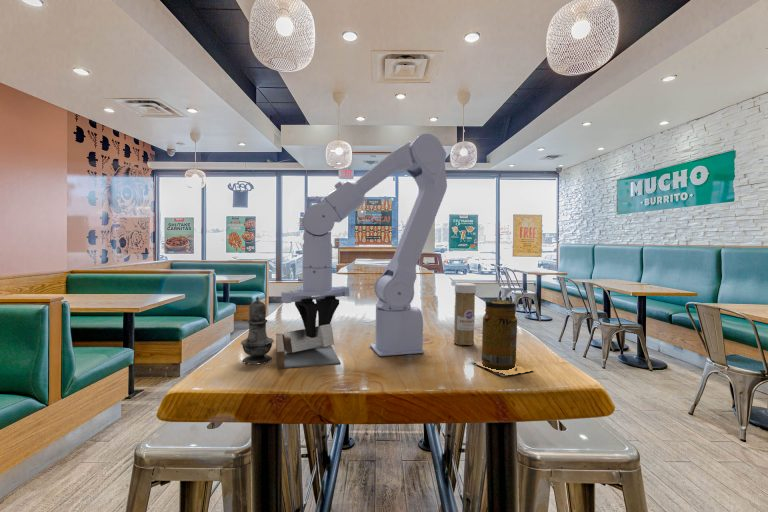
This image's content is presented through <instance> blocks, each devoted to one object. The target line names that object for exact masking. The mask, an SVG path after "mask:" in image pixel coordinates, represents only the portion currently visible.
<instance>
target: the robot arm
mask: <svg viewBox="0 0 768 512" xmlns="http://www.w3.org/2000/svg"><path fill="white" fill-rule="evenodd" d="M446 157H447V152H446V150H445V148H444V147H443V144H442V143H441V141H440V139H439V138H438V137H437V136H436V135H434V134H431V133H422V134H421V135H418V136H417V137H416V138H415V139H414V140H413V141H409V142H407V143H405V144H404V145H401V146H400V147H398V148H397V149H394V150H393V151H391V152H390V153H389V154H388V155H386V156H385V157H384V158H383V159H381V161H379V162H378V163H377V164H376V165H375V166H373V167H372V168H371V169H369V170H368V171H367V172H366V173H365V174H363V175H362V176H361V177H359V178H358V179H356V180H355V181H353V180H345V181H343V182H341V181H338V182H337V183H336V184H334V188H333V190H332V191H330V192H328V193H327V194H326V195H324V197H322V198H321V197H318V198H317V199H316V200H315V203H314V204H311V205H310V206H309V208H307V209H306V211H305V212H304V214H303V216H302V220H301V225H302V228H303V230H304V231H303V232H304V233H303V235H302V240H303V243H302V288H299V289H295V290H289V291H281V293H280V294H281V295H280V299H281V303H284V304H292V303H294V306H295V307H296V309H297V311H298V313H299V314H300V318H301V320H302V323H303V327H304V329H305V331H306V336H308V337H310V338H314V337H315V332H316V327H317V326H322V325H327V324H332V323H331V322H332V319H333V317H334V314H335V313H336V310H337V309H338V307H339V305H340V299H339V298H340V297H346V298H347V297H350V287H349V286H345V285H343V286H333V244H332V231H333V229H334V226H335V223H341V222H342V221H344V219H346V218H347V217H348V216H350V215H351V214H352V213H353V212H355V211H357V209H359V208H360V207H361V206H362V205H364V203H365V196H366V194H367V193H368V192H369V191H370V190H372V189H373V188H375V187H376V186H378V185H379V184H380V183H382V182H383V181H384V180H386V179H387V178H388V177H390V176H391V175H393V174H397V173H399V174H400V173H404V172H407V173H408V174H409V175H410V176H411V177H412V178H413V179H414V181H415V183H416V185H417V187H418V189H419V191H418V194H417V197H416V199H415V201H414V204H413V206H412V209H411V212H410V214H409V217H408V220H407V222H406V224H405V227H404V229H403V231H402V235H401V236H400V240H399V242H398V244H397V246H396V248H395V249H396V250H395V252H394V253H393V254H394V255H393V257H392V259H391V260H390V261H389V262H388V263H387V265H386V267H385V269H384V271H383V273H382V274H380V276H379V277H378V278H377V279H376V280H375V282H374V288H373V289H374V293H375V295H376V297H377V298H378V301H377V303H376V304H375V341H374V342H371V343H369V346H370V347H371V349H372V350H373V351H374V352H375V353H376V354H377V355H378V356H380V357H386V356H398V355H399V356H401V355H411V354H412V355H413V354H423V353H424V352H425V351H424V349H423V347H424V346H423V344H424V343H423V341H424V340H423V339H424V319H423V318H424V317H423V313H422V311H421V309H420V308H419V307H418V306H411V305H412V304H411V303H412V302H413V300H414V297H415V282H416V280H417V264H418V262H419V261H420V257H421V255H422V252H423V249H424V248H425V244H426V241H427V240H428V237H429V235H430V232H431V229H432V227H433V224H434V222H435V219H436V217H437V214H438V212H439V209H440V206H441V204H442V202H443V200H444V196H445V194H446V192H447V188H448V183H447V182H448V181H447V172H446V164H445V163H446V159H447V158H446ZM317 317H318V322H317ZM316 322H317V323H318V325H317V323H316ZM316 325H317V326H316Z"/></svg>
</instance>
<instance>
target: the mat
mask: <svg viewBox="0 0 768 512" xmlns="http://www.w3.org/2000/svg"><path fill="white" fill-rule="evenodd" d="M329 365H341V360H340V359H339V357H338V355H337V353H336V352H335V350H334V348H333V345H330V346H326V347H319V348H312V349H306V350H302V351H297V352H292V353H286V348H284V368H283V369H291V368H293V367H294V368H304V367H315V366H318V367H319V366H329Z"/></svg>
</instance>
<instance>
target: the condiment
mask: <svg viewBox="0 0 768 512" xmlns="http://www.w3.org/2000/svg"><path fill="white" fill-rule="evenodd" d="M516 308H517V305H516V303H515V302H514V301H511V300H504V299H489V300H487V301H485V309H484V311H485V314H484V315H483V317H482V333H481V335H482V339H481V341H482V343H481V361H482V364H483V366H485V367H488V368H491V369H496V370H509V369H512V368H514V367H515V364H517V337H518V336H517V335H518V334H517V333H518V327H517V326H518V319H517V317H516ZM478 361H479V360H476V361H470V363H471V364H474V363H476V362H478ZM474 365H475V366H477V365H476V364H474ZM489 371H490V372H492V370H489ZM492 373H493V374H495V375H500V376H501V377H509V376H508V375H505V374H503V373H499V372H492Z"/></svg>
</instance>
